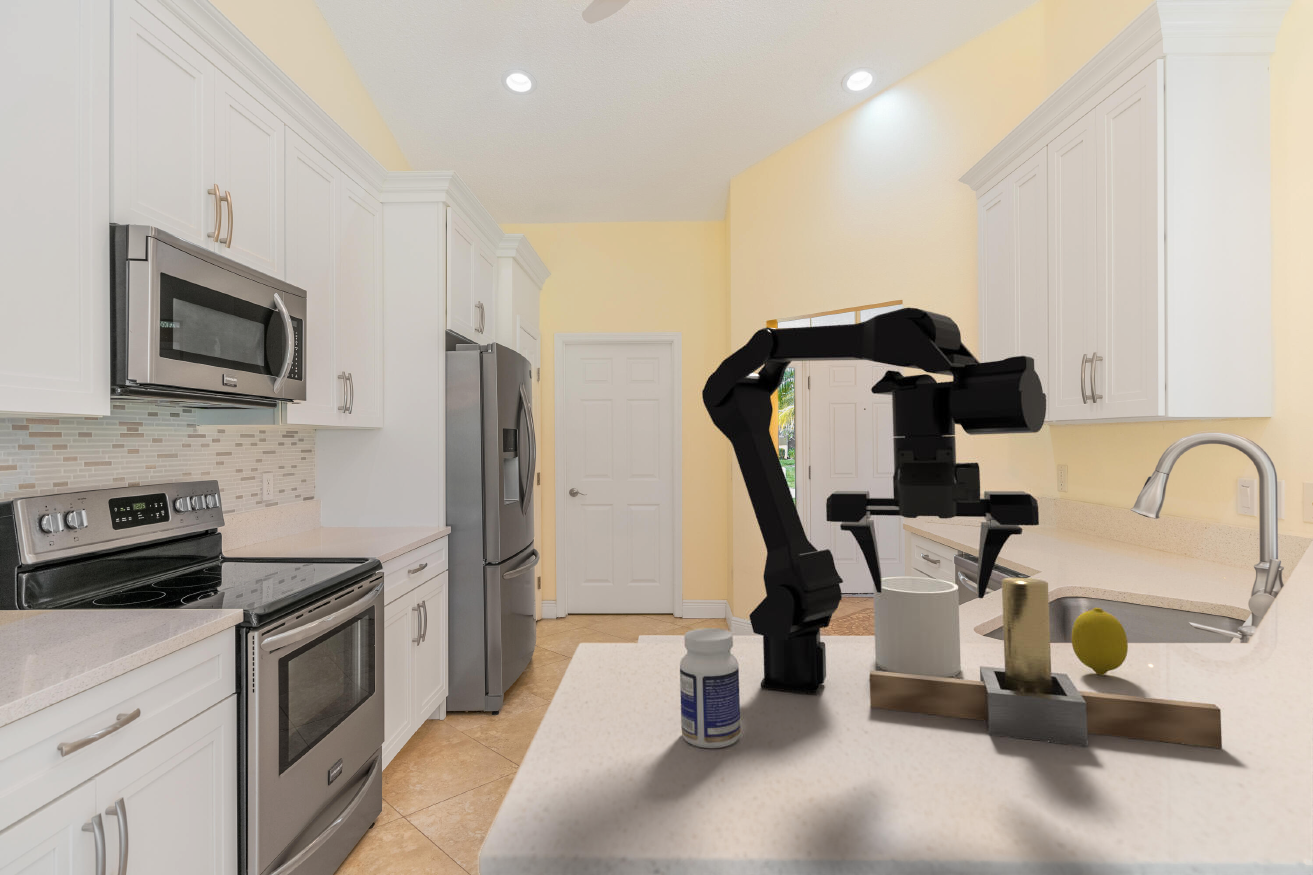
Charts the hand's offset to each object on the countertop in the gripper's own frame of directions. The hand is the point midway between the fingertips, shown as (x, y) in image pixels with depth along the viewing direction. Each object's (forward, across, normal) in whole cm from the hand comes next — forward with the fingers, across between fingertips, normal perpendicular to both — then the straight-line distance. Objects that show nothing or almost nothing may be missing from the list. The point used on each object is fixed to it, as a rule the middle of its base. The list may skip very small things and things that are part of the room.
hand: (928, 594), depth 64 cm
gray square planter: (+13, +9, +4) cm, 16 cm away
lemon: (+13, +19, +22) cm, 32 cm away
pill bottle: (+13, -20, -9) cm, 26 cm away
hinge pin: (+13, +9, +4) cm, 16 cm away
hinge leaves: (+13, +9, +4) cm, 16 cm away
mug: (+13, -2, +20) cm, 24 cm away
